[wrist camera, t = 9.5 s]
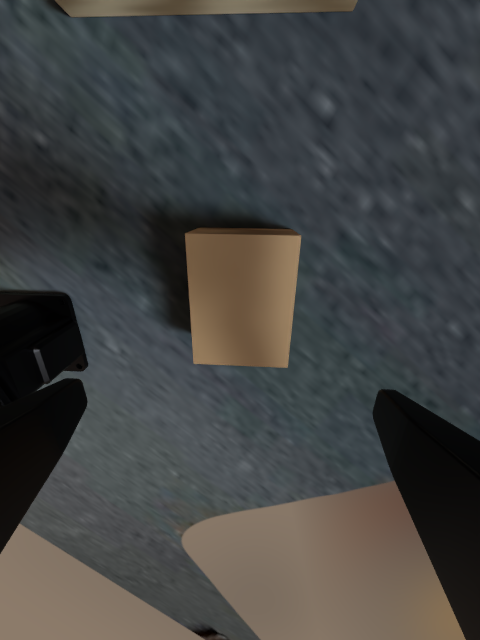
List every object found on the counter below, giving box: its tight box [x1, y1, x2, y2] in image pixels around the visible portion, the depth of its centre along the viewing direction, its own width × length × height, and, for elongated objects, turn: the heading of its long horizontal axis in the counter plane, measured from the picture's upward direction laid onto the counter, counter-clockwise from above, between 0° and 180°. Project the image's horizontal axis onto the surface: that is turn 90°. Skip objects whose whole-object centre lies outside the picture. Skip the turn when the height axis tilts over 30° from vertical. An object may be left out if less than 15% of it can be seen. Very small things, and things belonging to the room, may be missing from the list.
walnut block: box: [185, 227, 301, 368], centre depth 17 cm, size 6×8×4 cm
